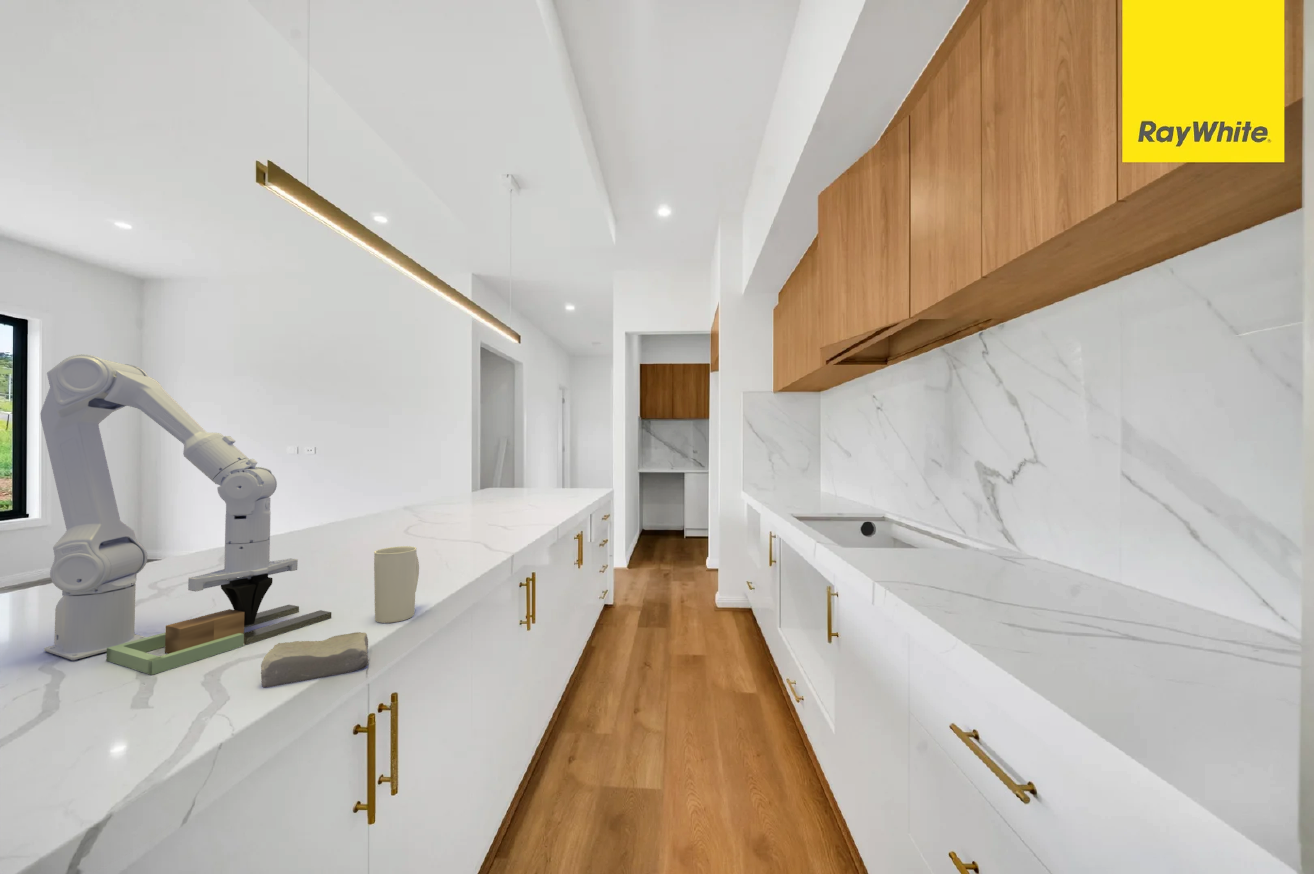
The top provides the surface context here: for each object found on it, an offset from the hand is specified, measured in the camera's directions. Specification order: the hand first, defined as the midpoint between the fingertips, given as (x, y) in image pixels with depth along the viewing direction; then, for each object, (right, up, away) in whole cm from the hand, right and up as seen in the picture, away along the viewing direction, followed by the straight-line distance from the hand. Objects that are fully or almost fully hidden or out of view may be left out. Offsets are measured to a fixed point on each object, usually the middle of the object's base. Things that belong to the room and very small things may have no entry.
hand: (246, 623), depth 80 cm
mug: (+21, -2, +9) cm, 23 cm away
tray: (-3, -1, -8) cm, 9 cm away
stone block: (+21, -1, -12) cm, 24 cm away
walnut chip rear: (-1, -1, -3) cm, 4 cm away
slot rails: (+1, -2, +3) cm, 4 cm away
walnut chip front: (-3, -1, -7) cm, 8 cm away
